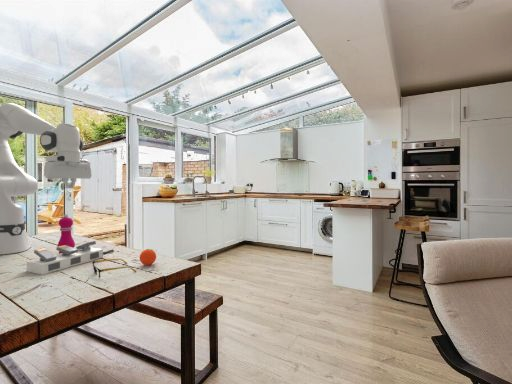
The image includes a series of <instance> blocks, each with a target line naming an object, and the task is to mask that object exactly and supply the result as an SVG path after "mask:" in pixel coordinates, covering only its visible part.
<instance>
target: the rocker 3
mask: <svg viewBox="0 0 512 384" xmlns="http://www.w3.org/2000/svg"><path fill="white" fill-rule="evenodd" d="M96 244H97V243H96V240H93V241H90V242H86V243H83V244H80V245H78V246H75V247H76V248H75V249H78V250H79V249H82V248H86V247H91V246H94V245H96Z"/></svg>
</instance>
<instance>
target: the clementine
mask: <svg viewBox="0 0 512 384" xmlns="http://www.w3.org/2000/svg"><path fill="white" fill-rule="evenodd" d="M156 252H157V254H159V253H158V251H156ZM156 252H155V249H154V248H147V249H144V250H143V251H141V252H140V254H139V261H140V263H141V264H143V265H145V266H150V265H153V264H154V263H155V261H156V259H157V254H156Z"/></svg>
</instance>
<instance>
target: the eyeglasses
mask: <svg viewBox="0 0 512 384" xmlns="http://www.w3.org/2000/svg"><path fill="white" fill-rule="evenodd" d="M111 261H122V262H123V263H124V264H126V265H127V264H128V262H127V261H125V260H124V259H121V258H110V259H109V258H108V259H100V260H99V259H98V260H92V261H91V263H92V268H93V273H94V274H95V275H96V276H97V275H98V278H99V277H100V278H101V273H102V272H103V273H104V272H107V271H112V270H113V271H114V270H119V269H126V268H127V269H130V270H132V271H133V272H134V273H137V270H136V269H135V268H133V267H132V266H119V267H111V268H104V269H103V268H102V269H100V268H98V267H97V266H95V264H96V263H103V262H111Z"/></svg>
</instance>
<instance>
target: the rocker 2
mask: <svg viewBox="0 0 512 384" xmlns="http://www.w3.org/2000/svg"><path fill="white" fill-rule="evenodd" d="M55 249H56V251H58V252H59V251H61V252H63V253H66V254H69V255H70V254H74V253H78V249H77V248H75V247H74V248H72V247H69V246H66V245H63V246H59V247H58V246H56V247H55Z"/></svg>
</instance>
